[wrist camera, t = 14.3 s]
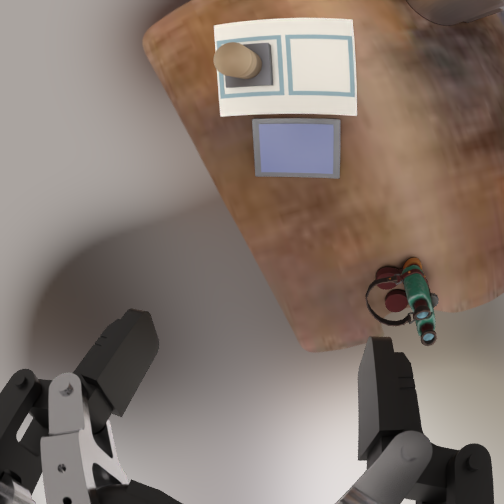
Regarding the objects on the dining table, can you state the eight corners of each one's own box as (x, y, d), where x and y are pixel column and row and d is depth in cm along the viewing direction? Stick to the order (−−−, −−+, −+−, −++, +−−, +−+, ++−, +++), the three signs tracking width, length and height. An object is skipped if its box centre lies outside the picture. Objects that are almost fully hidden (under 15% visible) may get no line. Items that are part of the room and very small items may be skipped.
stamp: (270, 45, 28) (257, 31, 21) (273, 85, 30) (260, 82, 23) (228, 49, 29) (203, 38, 22) (230, 87, 31) (207, 86, 24)
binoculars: (357, 322, 32) (438, 297, 27) (359, 270, 41) (423, 247, 36) (378, 365, 35) (448, 346, 30) (378, 313, 44) (436, 293, 39)
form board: (352, 20, 24) (352, 19, 24) (356, 115, 30) (357, 116, 30) (215, 26, 28) (213, 25, 27) (221, 116, 33) (220, 116, 33)
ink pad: (339, 118, 31) (340, 119, 30) (338, 175, 34) (339, 179, 33) (254, 118, 33) (251, 119, 32) (257, 173, 36) (255, 177, 35)
